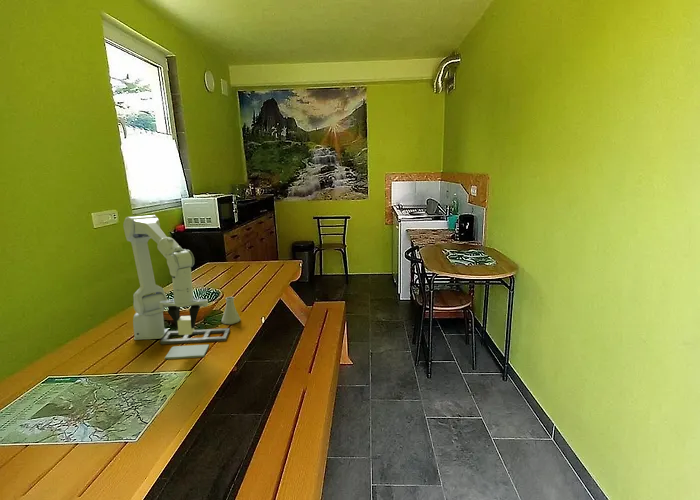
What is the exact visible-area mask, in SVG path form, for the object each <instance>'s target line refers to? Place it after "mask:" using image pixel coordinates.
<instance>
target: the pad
mask: <svg viewBox="0 0 700 500" xmlns="http://www.w3.org/2000/svg"><path fill="white" fill-rule="evenodd" d="M209 348H210V344H194V345H193V344H192V345H179V346H178V345H174V346H173V345H172V347H171V348H170V349H169V351H168V352H167V354H166V355H165V357H164V359H165V360H176V359H191V358H195V359H196V358H204V357H205V356H206V354H207V351H208V349H209Z"/></svg>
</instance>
